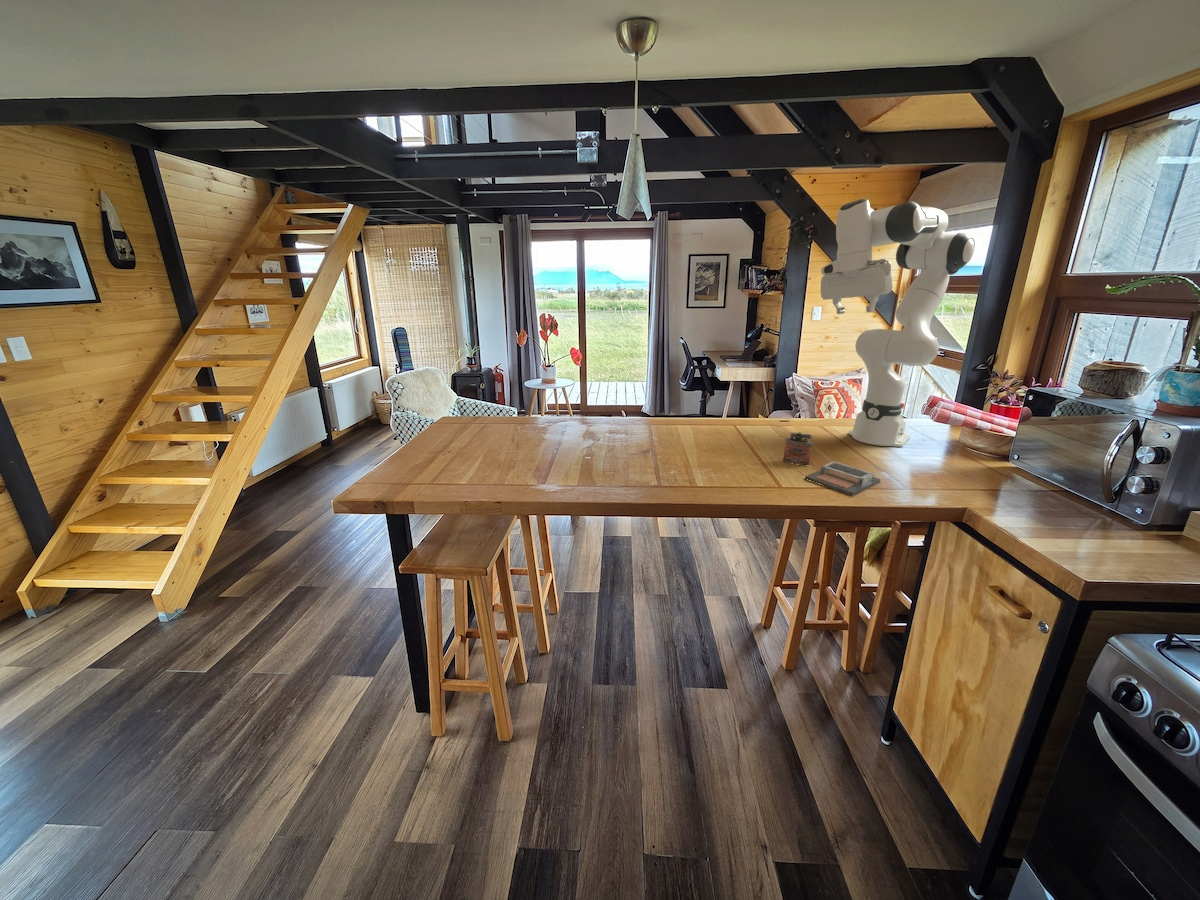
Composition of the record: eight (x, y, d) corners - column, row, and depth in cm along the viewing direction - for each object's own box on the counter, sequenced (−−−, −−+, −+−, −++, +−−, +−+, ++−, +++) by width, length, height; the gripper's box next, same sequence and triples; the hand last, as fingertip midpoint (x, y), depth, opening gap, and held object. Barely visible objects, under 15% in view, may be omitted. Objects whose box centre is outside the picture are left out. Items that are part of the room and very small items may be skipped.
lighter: (781, 462, 153) (786, 432, 150) (783, 459, 156) (787, 429, 153) (808, 467, 150) (814, 436, 146) (809, 463, 152) (815, 433, 149)
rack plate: (832, 467, 150) (834, 458, 149) (879, 482, 139) (882, 472, 138) (804, 479, 140) (806, 469, 139) (852, 496, 130) (855, 486, 129)
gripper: (897, 256, 129) (897, 308, 134) (830, 266, 147) (831, 312, 151) (883, 259, 127) (883, 313, 131) (816, 269, 144) (818, 316, 149)
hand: (855, 312), depth 141 cm, fingers open, 8 cm apart
